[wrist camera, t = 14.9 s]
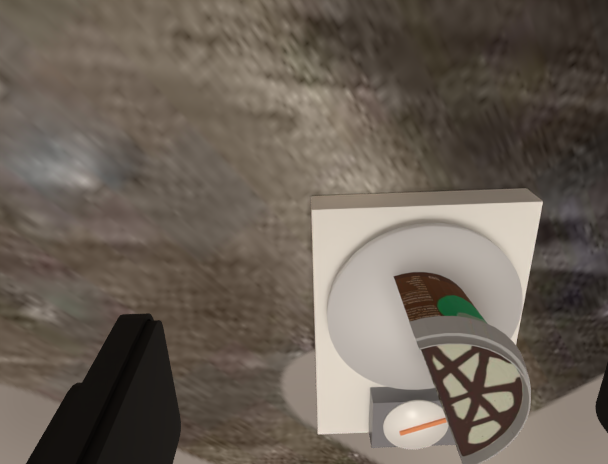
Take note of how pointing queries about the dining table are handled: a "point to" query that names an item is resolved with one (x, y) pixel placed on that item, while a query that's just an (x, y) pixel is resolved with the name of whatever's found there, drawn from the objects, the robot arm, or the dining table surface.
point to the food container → (467, 366)
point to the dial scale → (388, 304)
